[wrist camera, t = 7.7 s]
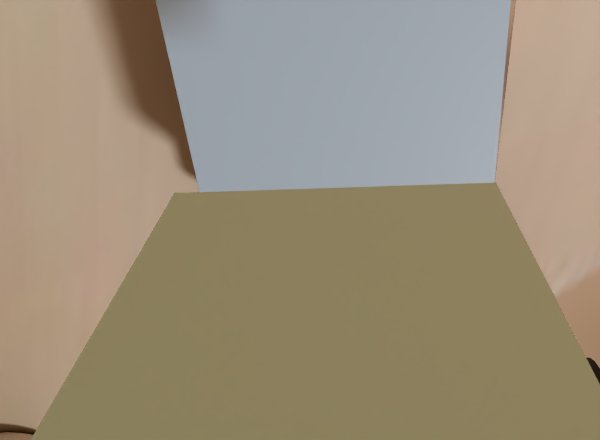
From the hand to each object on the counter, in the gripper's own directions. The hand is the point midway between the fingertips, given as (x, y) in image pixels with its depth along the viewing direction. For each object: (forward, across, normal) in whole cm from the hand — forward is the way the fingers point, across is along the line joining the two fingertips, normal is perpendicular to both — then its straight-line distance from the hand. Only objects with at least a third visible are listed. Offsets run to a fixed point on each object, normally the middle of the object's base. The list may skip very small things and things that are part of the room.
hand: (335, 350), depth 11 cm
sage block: (+1, 0, 0) cm, 1 cm away
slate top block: (+16, 0, 0) cm, 16 cm away
